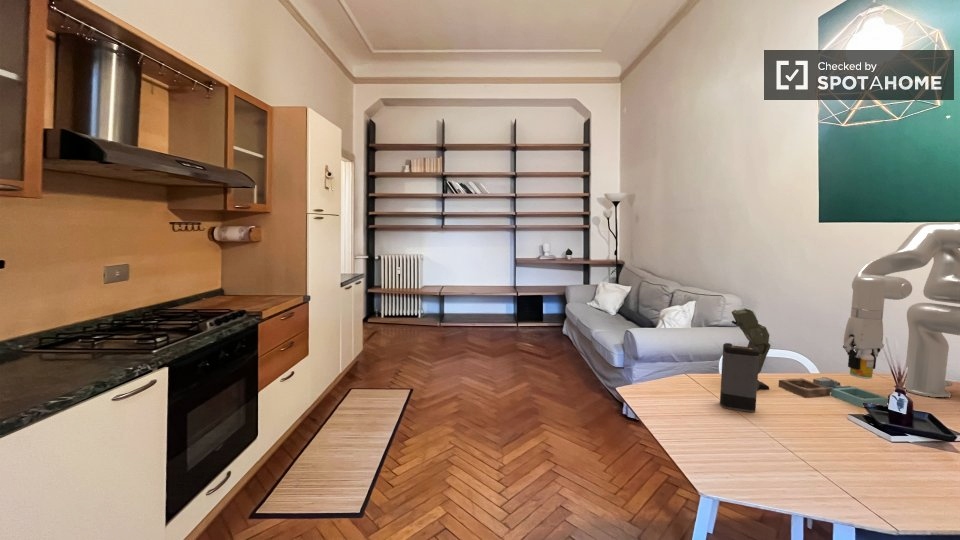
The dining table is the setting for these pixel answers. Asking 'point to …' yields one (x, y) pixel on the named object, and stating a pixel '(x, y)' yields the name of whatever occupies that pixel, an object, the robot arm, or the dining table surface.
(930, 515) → the dining table surface
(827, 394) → the socket block
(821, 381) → the grey stepped block
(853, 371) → the supplement bottle
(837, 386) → the guide
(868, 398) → the green square tray
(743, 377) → the electronic device
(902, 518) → the dining table surface
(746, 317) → the mechanical leg
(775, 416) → the dining table surface
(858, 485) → the dining table surface
